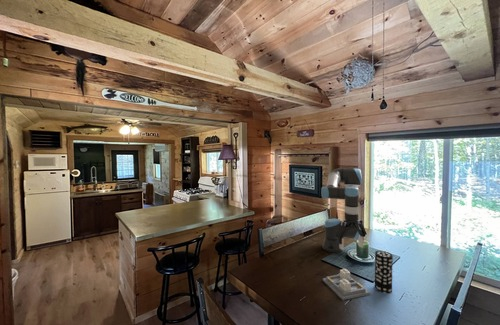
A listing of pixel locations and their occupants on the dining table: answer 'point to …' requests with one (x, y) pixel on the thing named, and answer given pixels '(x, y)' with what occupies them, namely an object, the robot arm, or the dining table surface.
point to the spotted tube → (383, 271)
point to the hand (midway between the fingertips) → (351, 247)
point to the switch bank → (355, 291)
